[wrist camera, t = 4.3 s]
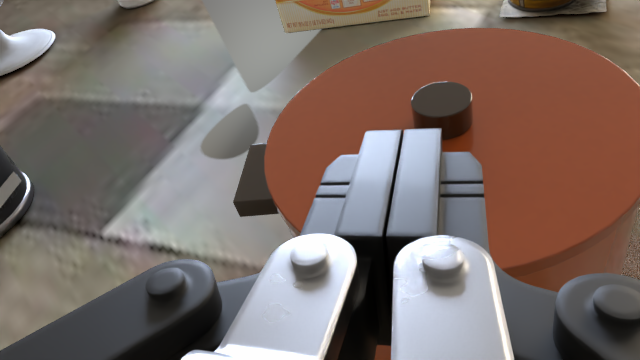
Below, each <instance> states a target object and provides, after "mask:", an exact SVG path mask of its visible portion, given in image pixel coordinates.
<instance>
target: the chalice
mask: <svg viewBox="0 0 640 360" xmlns="http://www.w3.org/2000/svg"><path fill="white" fill-rule="evenodd" d="M3 1H4V0H0V6H1V4H2V2H3ZM54 39H55V34H54V33H53V32H52V31H50V30H46V29H32V30H27V31H23V32H20V33H16V34H13V35H11V36H8V35H6V34H4V33H3V32H2V31H1V29H0V76H1V75H4V74H6V73H9V72H12V71H14V70H16V69H18V68H20V67H22V66H24V65H26V64H27V63H29V62H31V61H33V60H34V59H35V58H37V57H38V56H40V55H41V54H42V53H44V52H45V51H46V50H47V49H48V48H49V47H50V46H51V45H52V43H53V41H54Z"/></svg>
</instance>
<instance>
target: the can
mask: <svg viewBox="0 0 640 360" xmlns="http://www.w3.org/2000/svg"><path fill="white" fill-rule="evenodd" d="M153 1H155V0H117V2H118V3H119V5H120V6H122V7H124V8H137V7H141V6H144V5H147V4H149V3H151V2H153Z"/></svg>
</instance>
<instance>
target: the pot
mask: <svg viewBox="0 0 640 360" xmlns="http://www.w3.org/2000/svg"><path fill="white" fill-rule="evenodd" d="M428 128H442V151H443V152H470V153H471V154H472V155H473V156H474V157H475V158H476V159H477V160H478V162H479V163H480V164H481V165H482V174H483V185H484V198H485V208H486V220H487V231H488V243H489V251H490V254H491V256H492V259H493V260H494V262H495V263H496V264H497V265H498V266H499V267H500V268H501V269H502V270H503V271H504V272H506V273H507V274H508V275H510V276H511V277H513V278H515V279H517V280H519V281H521V282H524V283H526V284H529V285H532V286H536V287H539V288H543V289H547V290H551V291H555V292H559V290H560V289H561V288H562V287H563V285H564V284H566V283H567V282H569V281H570V280H572V279H574V278H576V277H579V276H583V275H587V274H594V273H610V274H619V275H621V274H622V270H623V266H624V262H625V259H626V255H627V251H628V247H629V244H630V240H631V236H632V232H633V228H634V225H635V221H636V217H637V213H638V209H639V206H640V86H639V84H638V83H637V82H636V81H635V80H634V79H632V78H631V77H630V76H629V75H628V74H627V73H626V72H625V71H624V70H622V69H621V68H620V67H618V66H617V65H616V64H614V63H613V62H611V61H610V60H608V59H606V58H605V57H603V56H601V55H599V54H597V53H595V52H594V51H592V50H589V49H587V48H584V47H582V46H580V45H577V44H575V43H572V42H569V41H566V40H562V39H559V38H556V37H552V36H548V35H543V34H539V33H534V32H527V31H520V30H512V29H499V28H464V29H450V30H442V31H433V32H428V33H422V34H417V35H412V36H408V37H404V38H400V39H396V40H393V41H389V42H386V43H383V44H380V45H377V46H374V47H372V48H369V49H367V50H364V51H362V52H359V53H357V54H355V55H353V56H351V57H349V58H347V59H345V60H343V61H341V62H339V63H337V64H336V65H334V66H332V67H331V68H329V69H327V70H326V71H324V72H323V73H321V74H320V75H319V76H317V77H316V78H314V79H313V80H312V81H310V82H309V83H308V84H307V85H306V86H305V87H303V88H302V89H301V90H300V91H299V92H298V93H297V94H296V95H295V96H294V97H293V98H292V99H291V100H290V101H289V103H288V104H287V105H286V107H285V108H284V109H283V111H282V112H281V113H280V115H279V116H278V118H277V120H276V122H275V124H274V125H273V127H272V130H271V132H270V135H269V138H268V141H267V143H264V144H255V145H250V148H249V152H248V155H247V158H246V162H245V165H244V168H243V171H242V175H241V178H240V181H239V185H238V188H237V191H236V195H235V198H234V201H233V203H234V205H235V207H236V209H237V211H238V213H239V215H240V217H243V216H256V215H268V214H280V215H281V217H282V218H283V220H284V221H285V223H286V224H287V225H288V227H289V230H290V232H291V235H292V237H293V239H294V238H297V237H299V236H300V233H301V230H302V228H303V225H304V223H305V220H306V218H307V215H308V213H309V210H310V208H311V205H312V203H313V200H314V198H316V193H317V190H318V187H319V186H320V185H321V184H320V182H321V180H322V177H323V175H324V172H325V170H326V168H327V167H328V166H329V165H330V164H331V163H332V162H334V161H335V160H336V159H337V158H338V157H339V156H340V155H355V154H359V151H360V148H361V145H362V142H363V139H364V135H365V132H366V131H375V130H403V135H404V130H405V129H428ZM375 360H391V346H386V345H377V347H376V354H375Z"/></svg>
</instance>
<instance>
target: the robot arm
mask: <svg viewBox="0 0 640 360" xmlns="http://www.w3.org/2000/svg"><path fill="white" fill-rule="evenodd" d="M320 184H321V185H320V186H319V187H318V190H317V193H316V198H314V200H313V203H312V205H311V208H310V210H309V213H308V215H307V218H306V220H305V223H304V225H303V228H302V230H301V233H300V236H299V237H297V238H294V239H291V240H289V241H287V242H285V243H284V244H282V245H281V246H279V247H278V248H277V249H276V250H275V251H274V252H273V253H272V254H271V255H270V257H269V258H268V260H267V262H266V264H265V265H264V267H263V269H262V271H261V273H258V274H255V275H251V276H247V277H242V278H237V279H232V280H227V281H222V282H217V283H216V280H215V277H214V274H213V272H212V270H211V268H210V267H209V266H208V265H206V264H205V263H203V262H200V261H197V260H191V259H180V260H174V261H169V262H165V263H162V264H160V265H157V266H155V267H153V268H151V269H149V270H147V271H145V272H143V273H142V274H140V275H138V276H136V277H134V278H132V279H131V280H129V281H127V282H125V283H123V284H121V285H120V286H118V287H116V288H114V289H112V290H111V291H109V292H107V293H105V294H103V295H101V296H100V297H98V298H96V299H94V300H92V301H90V302H89V303H87V304H85V305H83V306H81V307H79V308H78V309H76V310H74V311H72V312H70V313H68V314H67V315H65V316H63V317H61V318H59V319H57V320H56V321H54V322H52V323H50V324H48V325H47V326H45V327H43V328H41V329H39V330H37V331H36V332H34V333H32V334H30V335H28V336H26V337H25V338H23V339H21V340H19V341H17V342H15V343H14V344H12V345H10V346H8V347H6V348H4V349H3V350H1V351H0V360H375V354H376V347H377V345H386V346H391V360H640V280H639V279H635V278H632V277H629V276H624V275H619V274H610V273H594V274H587V275H583V276H579V277H576V278H574V279H572V280H570V281H569V282H567V283H566V284H564V285H563V287H562V288H561V289H560V290H559V292H555V291H551V290H547V289H543V288H539V287H536V286H532V285H529V284H526V283H524V282H521V281H519V280H517V279H515V278H513V277H511V276H510V275H508V274H507V273H506V272H504V271H503V270H502V269H501V268H500V267H499V266H498V265H497V264H496V263H495V262H494V260H493V259H492V256H491V254H490V251H489V243H488V231H487V220H486V208H485V198H484V185H483V174H482V165H481V164H480V163H479V162H478V160H477V159H476V158H475V157H474V156H473V155H472V154H471V153H470V152H443V151H442V128H428V129H405V130H404V135H403V130H375V131H366V132H365V135H364V139H363V142H362V145H361V148H360V151H359V154H355V155H340V156H339V157H338V158H337V159H336V160H335V161H334V162H332V163H331V164H330V165H329V166H328V167H327V168H326V170H325V172H324V175H323V177H322V180H321V182H320ZM33 195H34V187H33V184H32V182H31V181H30V180H29V178H28V177H27V176H26V175H25V174H24V173H23V172H21V171H20V169H19V168H18V167H17V166H16V165H15V163H14V162H13V161H12V160H11V158H10V157H9V156H8V155H7V154H6V152H5V151H4V150H3V148H2V147H1V146H0V237H1V236H2V235H3V234H5V233H6V232H7V231H8V230H9V229H11V228H12V227H13V226H14V225H15V224H16V223H17V222H18V221H19V220H20V218H21V217H22V216H23V215H24V213H25V212H26V211H27V209H28V207H29V206H30V204H31V201H32V199H33Z"/></svg>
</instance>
